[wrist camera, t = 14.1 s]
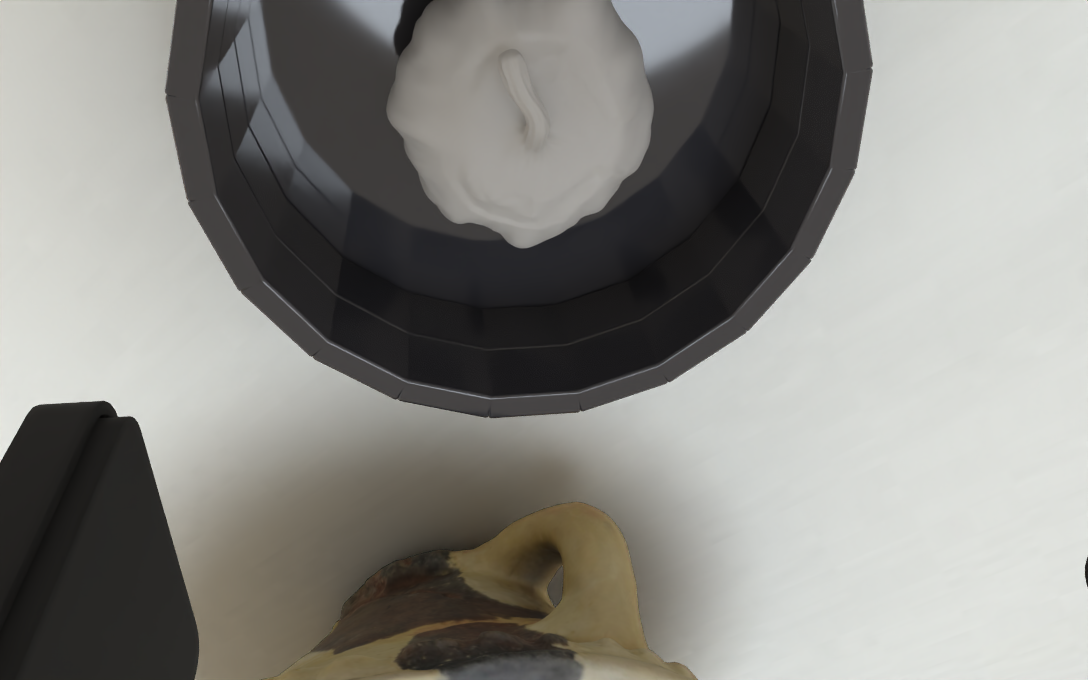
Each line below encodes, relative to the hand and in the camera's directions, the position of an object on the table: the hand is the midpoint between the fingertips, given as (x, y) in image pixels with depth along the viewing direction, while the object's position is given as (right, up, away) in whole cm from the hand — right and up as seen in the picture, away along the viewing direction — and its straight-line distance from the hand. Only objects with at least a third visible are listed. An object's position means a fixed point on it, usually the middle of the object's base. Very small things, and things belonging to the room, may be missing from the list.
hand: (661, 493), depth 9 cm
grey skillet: (-2, +8, +14) cm, 16 cm away
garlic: (-2, +8, +13) cm, 15 cm away
